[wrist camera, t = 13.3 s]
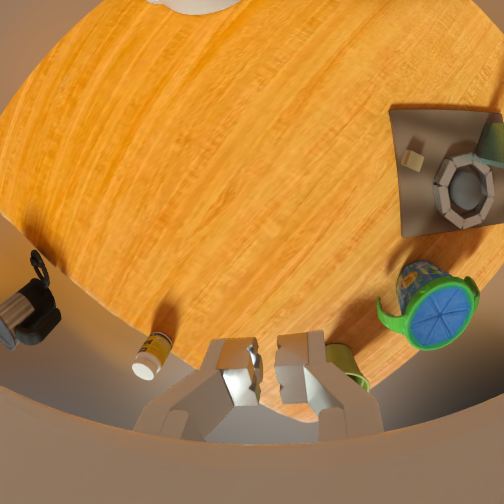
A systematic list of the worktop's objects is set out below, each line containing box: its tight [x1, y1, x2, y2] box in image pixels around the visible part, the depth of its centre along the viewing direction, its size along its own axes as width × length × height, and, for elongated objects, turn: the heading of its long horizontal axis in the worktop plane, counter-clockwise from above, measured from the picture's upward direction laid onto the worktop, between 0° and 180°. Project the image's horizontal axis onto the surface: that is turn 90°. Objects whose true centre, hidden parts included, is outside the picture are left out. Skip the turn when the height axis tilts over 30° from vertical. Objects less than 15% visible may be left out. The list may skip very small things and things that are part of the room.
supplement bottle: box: [132, 332, 173, 380], centre depth 45 cm, size 5×5×8 cm
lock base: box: [389, 110, 504, 238], centre depth 30 cm, size 17×20×3 cm
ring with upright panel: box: [433, 123, 504, 230], centre depth 24 cm, size 13×13×14 cm
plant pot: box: [325, 344, 370, 393], centre depth 41 cm, size 9×9×9 cm
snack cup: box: [377, 260, 480, 350], centre depth 34 cm, size 16×10×10 cm
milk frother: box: [0, 250, 61, 350], centre depth 42 cm, size 14×16×15 cm
